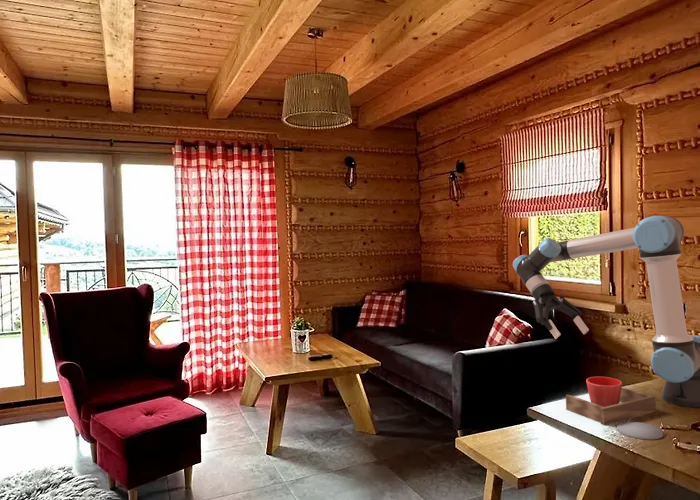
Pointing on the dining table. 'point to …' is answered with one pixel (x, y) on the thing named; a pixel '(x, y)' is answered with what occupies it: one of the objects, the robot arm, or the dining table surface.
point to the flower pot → (604, 390)
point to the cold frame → (614, 407)
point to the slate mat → (640, 430)
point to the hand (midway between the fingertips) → (572, 334)
